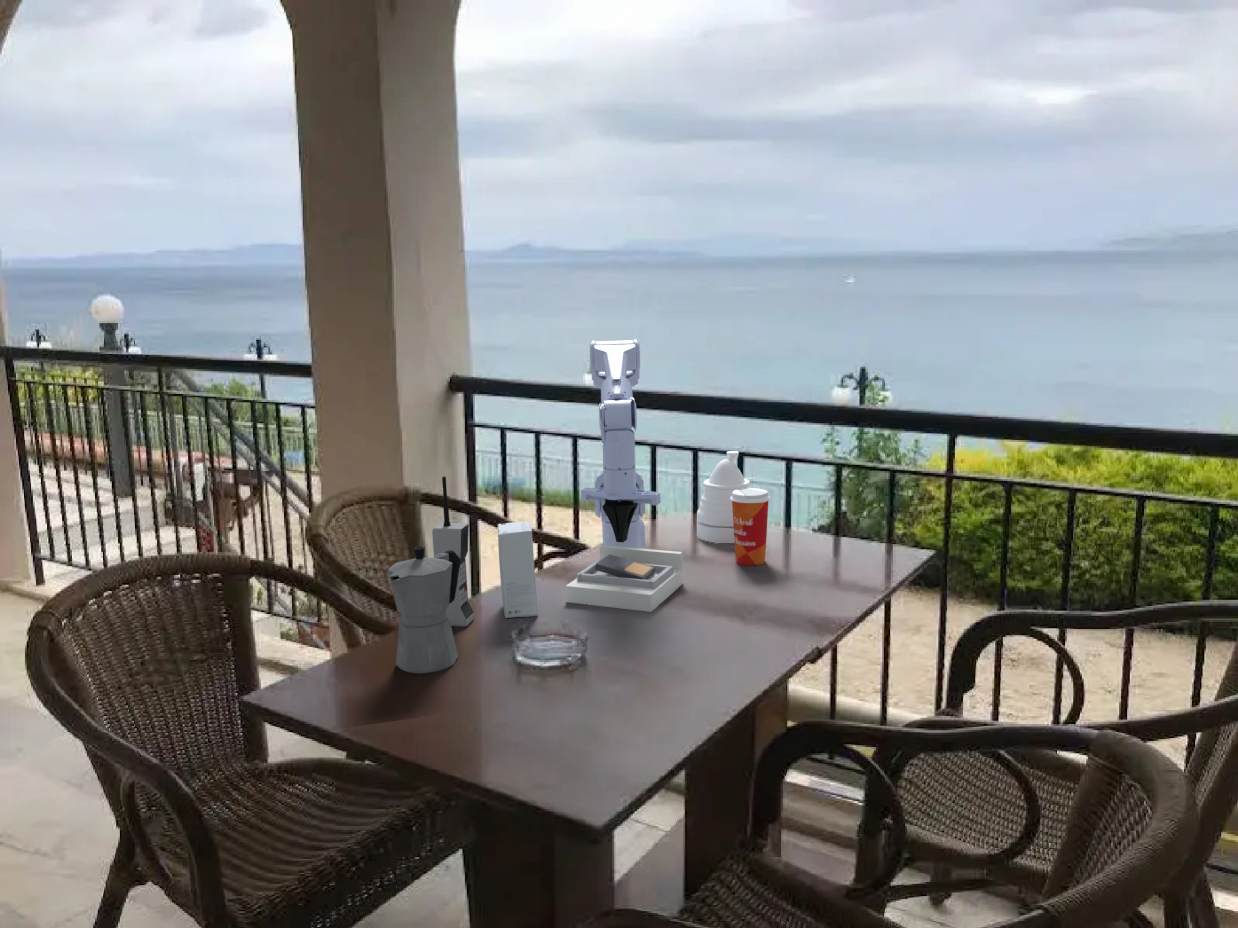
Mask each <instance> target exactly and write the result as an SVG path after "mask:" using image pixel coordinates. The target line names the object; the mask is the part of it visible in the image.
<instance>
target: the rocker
mask: <svg viewBox="0 0 1238 928" xmlns="http://www.w3.org/2000/svg"><path fill="white" fill-rule="evenodd" d="M595 570H597V571H601V572H604V573H607V574H611V575H614V576H618V577H623V578H633V579H643V580H647V579H648V578H649V577H650V576H652V575H653V574H654V571H655V567H652V566H648V565H645V564H641V563H638V562H634V561H631V560H627V559H624V558H620V557H617V556H613V555H610V554H609V555H608V556H606V557H605V558H604V559H602V560H601V561H599V562H598V563H596V567H595Z"/></svg>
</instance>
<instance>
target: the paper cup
mask: <svg viewBox="0 0 1238 928" xmlns="http://www.w3.org/2000/svg"><path fill="white" fill-rule="evenodd" d="M730 499H731V500H732V510H733V525H734V540H735V544H734V551H735V560H736V561H735V562H736V563H737V564H738V563H739V564H738V565H742V566H747V565H748V566H761V565H763V564H764V563H765V562H766V553H767V550H766V549H767V538H768V537H767V533H768V520H769V519H768V517H769V501H770V500H771V496H769V491H768V490H766V489H764V488H763V489H762V488H756V487H748V488H746V489H739V490H734V491H733V492H732V496H731V497H730ZM760 564H761V565H760ZM748 566H747V567H748Z"/></svg>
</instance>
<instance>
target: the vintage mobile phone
mask: <svg viewBox="0 0 1238 928" xmlns="http://www.w3.org/2000/svg"><path fill="white" fill-rule="evenodd" d="M441 480H442V481H441V483H442V497H443V507H442V508H443V509H442V510H443V522H441V523H440V524H438V525H437V526H435V527H434V528H432V530H431V531H432V532H431V533H432V534H431V535H432V536H431V537H432V547H433V558H435V555H437V554H440V553H444V552H446V551H448V550H453V551H454V552H455V553H456V554H457V555H458V556H459V557H460V569H459V575H458V582H457V588H456V594H455V599H454V601H453V602H451V603H450V604H449V605H448V607H447V608H446V615H447V618H448V619H449V621H450V625H451V627H465V628H467V627H468V626H469V624H470V623H471V622H472V621H473V620H474V619H475V612H474V610H473V608H472V606H471V605H470V602H469V595H468V593H469V592H468V580H467V579H468V577H467V566H466V557H467V555H468V551H469V528H470V527H469V523H467V522H466V523H465V522H463V523H462V522H457V523H456V522H450V508H449V504H448V490H447V488H448V487H447V476H445V475H443V476H442V477H441Z"/></svg>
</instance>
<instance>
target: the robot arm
mask: <svg viewBox="0 0 1238 928" xmlns="http://www.w3.org/2000/svg"><path fill="white" fill-rule="evenodd" d="M589 362H590V363H589V365H590V370H591V372H590V373H591V381H593V384H592V385H593V386H594V387H596V388H598V389H600V403H599V404H598V417H599V418H598V419H599V420H598V421H599V423H598V424H599V429H600V430H599V431H600V436H601V444H602V465H603V468H602V469H603V472H601V473H600V474H599V475H598V476H596V479H595V481H594V487H584V488H582V489H580V497H581V498H580V500H581V501H588V500H589V501H594V515H595V516H596V518H601V524H602V525H601V528H602V532H601V533H602V545H607V546H618V547H630V548H641V549H646V526H645V522H644V521H643V519H642V518H641V517H644V516H645V514H646V505H651V506H658V505H659V504H661V492H659V491H651V490H646V489H645V485H644V478H643V476H642V475H641V474H640V473H638V472H637V471H636V443H635V441H636V440H635V439H636V438H635V437H636V436H635V432H636V431H637V427H638V426H637V425H638V422H637V421H638V418H637V417H638V416H637V415H638V413H637V403H636V401H635V397H633V395H634V394H633V387H635V386H636V385H638V384H639V379H640V370H641V348H640V341H638V339H634V338H633V339H632V340H630V339H629V340H624V339H623V340H601V341H600V340H599V341H597V340H591V342H590V343H589ZM632 428H633V429H634V430H633V429H632Z"/></svg>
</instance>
